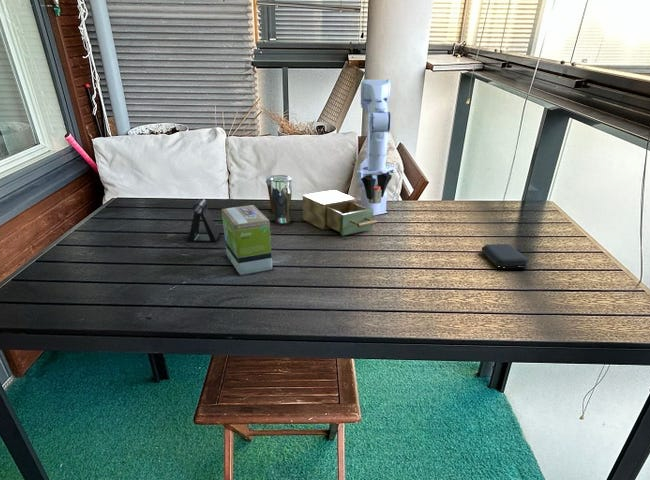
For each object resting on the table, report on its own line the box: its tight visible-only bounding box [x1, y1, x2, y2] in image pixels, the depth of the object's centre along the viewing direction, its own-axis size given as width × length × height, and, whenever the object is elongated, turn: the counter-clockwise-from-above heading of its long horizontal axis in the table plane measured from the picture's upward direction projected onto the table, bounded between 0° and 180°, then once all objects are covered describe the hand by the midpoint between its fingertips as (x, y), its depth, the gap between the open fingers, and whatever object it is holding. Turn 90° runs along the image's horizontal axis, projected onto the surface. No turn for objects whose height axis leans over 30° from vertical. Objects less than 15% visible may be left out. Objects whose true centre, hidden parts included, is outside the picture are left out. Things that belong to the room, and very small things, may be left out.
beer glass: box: [271, 176, 293, 226], centre depth 169 cm, size 7×7×15 cm
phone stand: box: [187, 198, 220, 243], centre depth 156 cm, size 9×6×12 cm, turn 88°
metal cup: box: [265, 174, 290, 213], centre depth 182 cm, size 10×10×12 cm
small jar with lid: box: [369, 186, 382, 204], centre depth 162 cm, size 4×4×5 cm
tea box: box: [221, 204, 273, 276], centre depth 137 cm, size 15×10×15 cm
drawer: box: [325, 202, 377, 237], centre depth 162 cm, size 18×12×7 cm
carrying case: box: [481, 243, 530, 270], centre depth 143 cm, size 11×3×15 cm
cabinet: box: [302, 189, 357, 231], centre depth 172 cm, size 14×14×9 cm
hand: (374, 197), depth 162 cm, fingers closed on small jar with lid, 4 cm apart
